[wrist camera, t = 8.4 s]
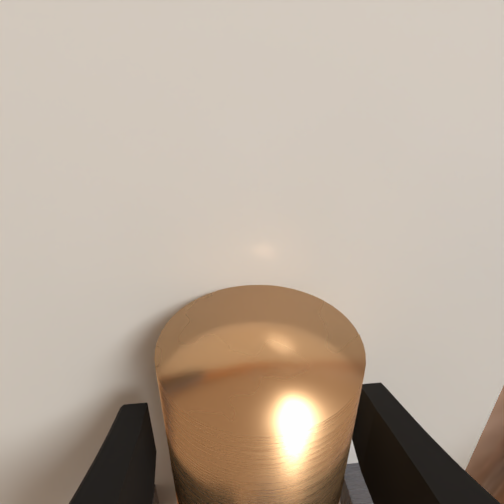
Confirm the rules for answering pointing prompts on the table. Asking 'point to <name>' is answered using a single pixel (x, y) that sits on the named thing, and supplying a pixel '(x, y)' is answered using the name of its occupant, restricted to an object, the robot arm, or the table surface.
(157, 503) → the grey arch
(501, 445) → the table surface
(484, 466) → the table surface
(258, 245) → the hearth board
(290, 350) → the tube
